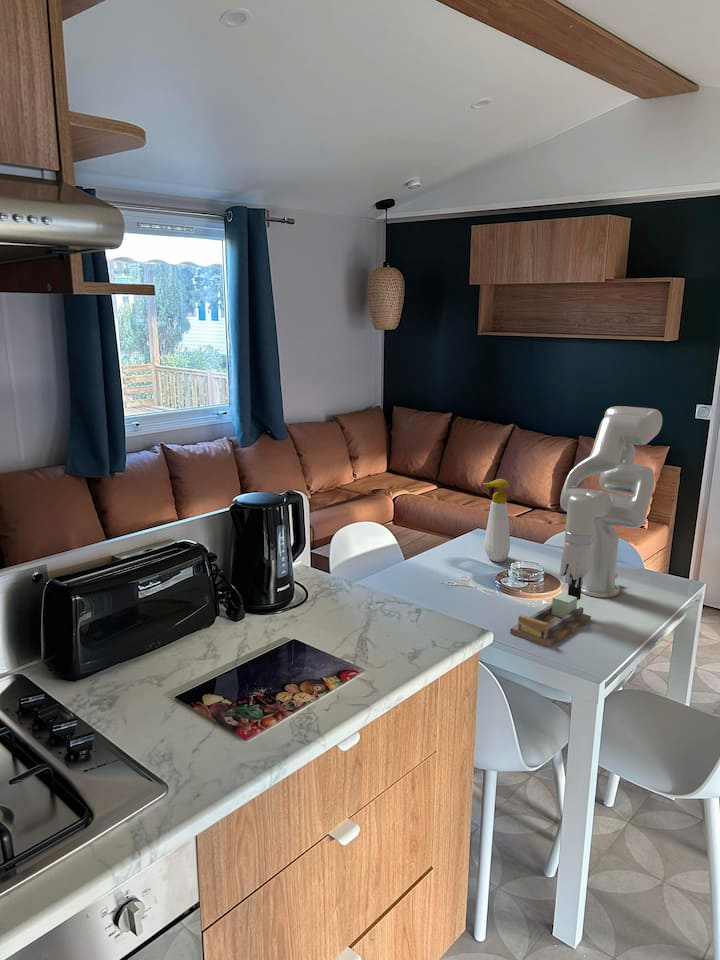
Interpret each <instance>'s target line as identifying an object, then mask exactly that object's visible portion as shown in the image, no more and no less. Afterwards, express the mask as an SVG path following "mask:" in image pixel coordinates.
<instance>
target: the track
mask: <svg viewBox="0 0 720 960" xmlns="http://www.w3.org/2000/svg"><path fill="white" fill-rule="evenodd" d="M591 619H592V616H591V615H588V614H586V613H585V614H584V607H582V606H580V607H578V608H576V610H575V611H573V612H571V613H570V614H568V615H566V616H565V617H563V618H562V617H559V616H556V615H552V604H550V605H548V606H546V607H545V608H543V609H542V610H540V611H537V612H536V613H534V614H532V615H531V616H528V615H523V614H520V615H518V620H517V622H518V623H517V624H516V625H514V626H512V627H510V631H509V632H510V633H512V634H511V635H513V634H514V636H516V637H519V638H522V639H525V640H528V641H531V642H534V643H536V644H539V645H542V646H545V647H548V648H551V647H552V646H555V644H557V643H559V642H560V641H562V640H564V639H565V638H566V637H568V636H570V635H571V634H572V633H574V632H576V631H577V630H579V629H580V628H582V627H584V626H585V625H586V624H588V623H590V622H591ZM510 633H509V634H510Z"/></svg>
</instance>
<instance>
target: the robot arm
mask: <svg viewBox="0 0 720 960" xmlns="http://www.w3.org/2000/svg"><path fill="white" fill-rule="evenodd" d="M603 416H604V417H603V418H602V420H601V422H600V423H599V427H598V430H597V433H596V436H595V440H594V443H593V446H592V448H591V452H590V454H589V456H588V457H586V458H585V459H583V460H581V461H580V462H579V463H577V464H576V465H575V466H574V467H573V468H572V469H571V470H570V471H569V472H568V475H567V476H566V478H565V481H564V485H563V486H562V489H561V494H560V500H559V501H560V502H559V504H560V507H561V509H562V510H563V511H564V512H566V522H565V537H564V547H563V550H562V554H561V562H560V569H559V570H560V571H559V575H560V576H561V577H563V578H564V577H565V578H564V579H565V580H564V584H567V586H568V587H567V588H568V589H567V595H570V596H574V597H577V602H578V601H579V600H581V597H582V596H581V595H582V594H583V595H587V596H590V597H596V598H612V597H616V596H618V595H619V594H620V587H619V586H618V585H616V584H615V583H616V580H617V578H619V573H617V562H618V551H619V542H620V541H619V535H618V533H617V529H616V528H615V527H621V528H626V529H627V528H629V529H639V528H640V527H642V526H643V524H644V523H645V520H646V516H647V512H648V510H649V506H650V501H651V499H652V495H653V491H654V485H655V472H654V470H653V469H652V468H651V467H650V466H647V465H643V464H636V463H634V462H635V459H636V455H637V453H636V452H637V451H636V447H635V445H637V446H643V445H644V446H645V445H647V444H648V443H650V442H651V441H652V440H653V439H654V438H655V437H656V436H658V435H659V433H660V431H661V429H662V426H663V415H662V413H661V411H659V409H657V408H648V407H637V406H623V405H621V406H620V405H617V406H616V405H615V406H611V407H609V408H607V409H606V411H605V412H604V415H603ZM598 474H599V484H598V485H599V486H600V488H601V489H602V490H604V491H601V490H597V489H596V490H595V489H591V488H583V487H578V486H579V485H580V484H581V482H582V481H584V480H585V479H586V478H589V477H591V476H594V475H598ZM605 491H607V492H605Z"/></svg>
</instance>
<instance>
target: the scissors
mask: <svg viewBox="0 0 720 960" xmlns="http://www.w3.org/2000/svg"><path fill="white" fill-rule="evenodd" d="M458 579H460V580H461V581H465V582H467V583H468V584H461V583H460V584H459V583H456V581H445V582H444V581H438V584H444V585H446V586H449V587H450V586H451V587H455V586H459V587H468V588H472V589H475V590H477V591H479V592H481V593H483V594H485V595H487V596H490V597H491V598H495V597H494V596H493V595H491V594H489V593H487V592H491V593H495V594H496V593H497V594H502V593H500V592H497V591H494V590H490V589H487V588H482V587H479V586H477V585H475V584H473V583H472V582H471V581H470V577H469V576H465V575H463V576H459V577H458ZM486 591H487V592H486Z"/></svg>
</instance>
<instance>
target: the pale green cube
mask: <svg viewBox="0 0 720 960" xmlns="http://www.w3.org/2000/svg"><path fill="white" fill-rule="evenodd" d="M551 600H552V602H551V605H552V615H556V616H559V617H562V618H563V617H565V616H566V615H568V614H570V613H571V612H573V611H575V610H576V609H578V608H577V606H578V601H577V597H574V596H570V595H568V593H567V594H566V593H563V592H560V593H558V594H557V595H555V596H553V597H552V599H551Z"/></svg>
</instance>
